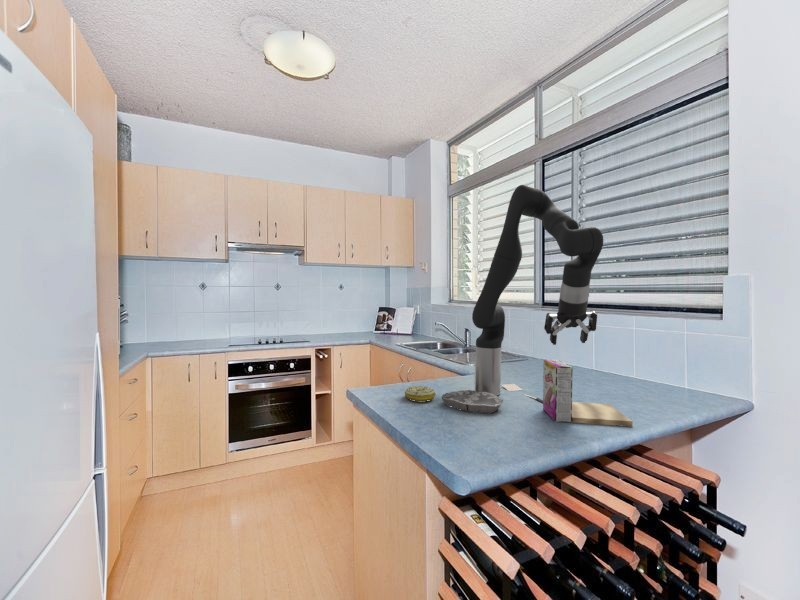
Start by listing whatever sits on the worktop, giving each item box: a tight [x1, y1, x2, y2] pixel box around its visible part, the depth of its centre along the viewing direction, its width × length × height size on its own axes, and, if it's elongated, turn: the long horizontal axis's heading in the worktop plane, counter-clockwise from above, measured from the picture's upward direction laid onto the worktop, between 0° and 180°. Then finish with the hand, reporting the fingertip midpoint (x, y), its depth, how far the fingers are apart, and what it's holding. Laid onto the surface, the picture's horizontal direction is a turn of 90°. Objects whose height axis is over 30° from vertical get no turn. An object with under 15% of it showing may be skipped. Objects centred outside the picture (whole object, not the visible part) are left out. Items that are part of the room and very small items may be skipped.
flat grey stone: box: [441, 389, 504, 414], centre depth 122 cm, size 20×17×3 cm
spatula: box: [501, 383, 543, 404], centre depth 133 cm, size 6×29×2 cm, turn 17°
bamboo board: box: [571, 401, 634, 427], centre depth 114 cm, size 16×16×2 cm
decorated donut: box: [404, 385, 436, 401], centre depth 129 cm, size 10×11×4 cm
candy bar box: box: [542, 359, 574, 423], centre depth 112 cm, size 11×5×16 cm, turn 178°
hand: (567, 342), depth 114 cm, fingers open, 8 cm apart
